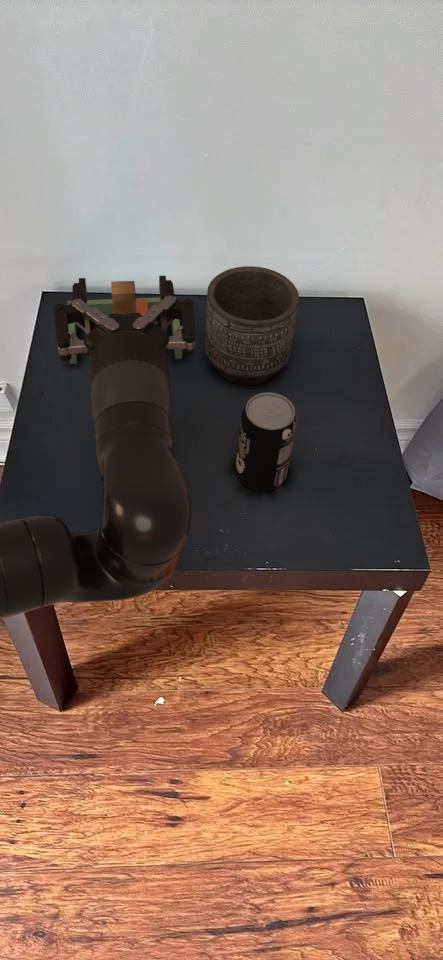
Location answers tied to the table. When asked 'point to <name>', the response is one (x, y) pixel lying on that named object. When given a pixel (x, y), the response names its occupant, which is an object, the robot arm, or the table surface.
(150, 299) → the corral
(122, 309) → the stamp
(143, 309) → the red cube
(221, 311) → the planter
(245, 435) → the beverage can
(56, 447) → the table surface
